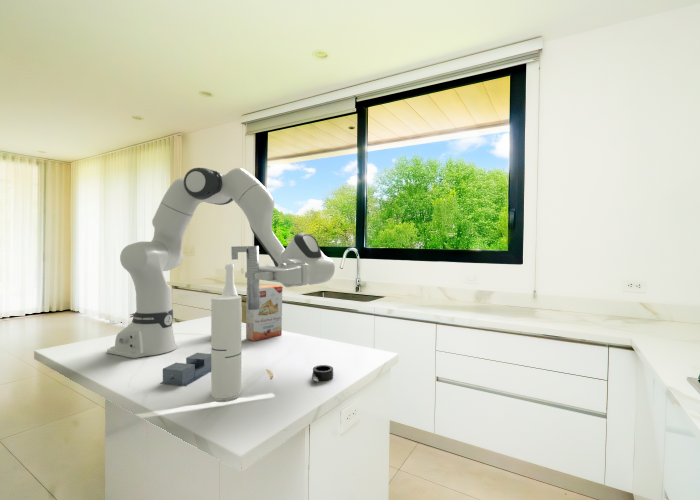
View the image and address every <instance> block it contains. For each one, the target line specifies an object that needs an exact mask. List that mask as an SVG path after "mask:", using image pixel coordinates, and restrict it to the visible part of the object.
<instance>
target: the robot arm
mask: <svg viewBox="0 0 700 500" xmlns="http://www.w3.org/2000/svg"><path fill="white" fill-rule="evenodd" d="M184 175H185V176H184V177H180V178H177V179H175V180H174V181H173V182H172V183H171V184H170V186H169V187H168V189H167V191H166V192H165V193H164V195H163V197H162V199H161V201H160V203H159V204H158V206H157V207H158V208H157V209H156V212H155V214H154V216H153V218H152V221H151V225H152V226H153V228H154V233H153V237H152V240H151V241H137V242H133V243H130V244H127V245H126V246H125V247H124V248H123V249H122V250H121V253H120V258H119V260H120V264H121V266H122V267H123V269H124V270H126V271H127V272H128V273H129V275H130V276H131V279H132V282H133V284H134V288H135V302H136V308H135V309H136V311H135V313H130V314H129V318H132V321H131V323H129V324H128V325H127V326H126V327H124V328H123V329H122V330H120V331H119V332H118V333H117V334H116V336H115V339H114V340H115V343H114V345H113V346H111V347H108V349H107V350H106V353H107V354H112V355H117V356H121V357H125V358H126V357H127V358H132V359H135V358H136V359H137V358H142V357H147V356H149V357H150V356H157V355H162V354H166V353H168V352H172V351H174V350H175V349H177V348H178V347H177V343H176V340H175V336H174V335H175V334H174V327H173V321H174V310H173V307H172V306H173V304H172V303H173V302H172V300H173V299H172V295H173V294H172V293H173V292H172V288H171V287H172V286H170V285H169V284H168V283H167V281H166V277H165V273H164V272H168V271H170V270H173V269H175V268H177V267H178V266H180V265H181V263H182V262H183V260H184V252H183V250H182V247H183V241H184V236H185V234H186V231H187V229H188V226H189V225H190V222H191V221H192V218H193V216H194V214H195V212H196V210H197V208H198V206H199V205H200V204H201V203H208V204H213V205H220V206H221V205H222V206H223V205H228V204H231V203H232V202H233V201H234V203H236V204H237V206H239V208H240V209H241V210H242V211H243V214H244V215H245V217H246V218H247V221H248V223H249V226H250V229H251V232H252V233H253V235H254V236H255V238H256V239H257V241H258V242H259V243H260V245H261V246H262V248H263V249H264V251H265V252H266V253H267V255H268V256H269V257H270V259H271V260H272V263H273V264H274V266H269V265H268V266H267V265H265V266H262V265H261V266H259V273H254V274H253V279H256V280H259V281H260V280H261V281H266V282H267V281H268V282H273V283H280V284H282V286H284V287H285V288H294V287H302V286H308V285H311V286H312V285H318V284H319V285H320V284H324V283H326V282H330V280H331V279H333V276H334V274H335V269H336V268H335V267H336V266H335V263H334V261H333V259H332V258H330V257H328V256H327V255H325V254H324V252H323V251H322V250H321V248H320V245H319V243H318V241H317V239H316V238H315V237H314V236H313V235H310V234H309V233H305V232H299V233H297V234H295V235H294V236H293V238H292V239H291V240H290V241H289V243H288V244H287V246H286V247H284V245H283V244H282V243H281V241H280V240H279V239H278V236H276V234H275V233H274V231H273V215H274V210H275V199H274V198H273V195H272V194H271V193H272V192H270V191H269V189H267V188H266V186H265V185H263V183H262V182H260V180H259V179H257V178H256V176H254V175H253V174H251V173H250V172H249V171H247V170H246V169H244V168H242V167H236V168H233V169H231V170H229V171H228V172H227V173H225V174H221V173H220V172H219V171H217V170H213V169H209V168H206V167H194V168H191V169H190V170H188V171H187V173H185V174H184ZM244 277H245V278H246V279H247V271H246V272H245V273H244Z"/></svg>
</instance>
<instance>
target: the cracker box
mask: <svg viewBox="0 0 700 500" xmlns="http://www.w3.org/2000/svg"><path fill="white" fill-rule="evenodd" d="M259 292H260V309H258V310H248V308H247V302H246V305H245V308H246V312H245V313H246V316H245V317H246V318H245V320H246V322H245V338H246V339H247V340H250V341H252V342H255V341H260V340H263V339H269V338H274V337H279V336H282V329H283V328H282V325H283V323H282V322H283V285H276V284H275V285H264V286H262V285H261V286H259Z"/></svg>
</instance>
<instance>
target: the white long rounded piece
mask: <svg viewBox="0 0 700 500" xmlns="http://www.w3.org/2000/svg"><path fill="white" fill-rule="evenodd" d="M234 264H235V263H225V266H224V267H225V268H224V269H225V282H224V287H223V290H222V293H221V296H222V295H238V296H239V294H238V292H237V288H236V285H235V265H234ZM242 311H243V309H242V305H241V332H242V327H243V326H242V318H243V317H242V315H243V314H242Z"/></svg>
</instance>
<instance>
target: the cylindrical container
mask: <svg viewBox="0 0 700 500" xmlns="http://www.w3.org/2000/svg"><path fill="white" fill-rule="evenodd" d="M210 298H211V301H210V303H211V305H210V307H211V308H210V309H211V311H210V313H211V315H210V318H211V322H210V325H211V328H210V329H211V330H210V331H211V332H210V333H211V335H210V337H211V338H210V339H211V343H210V346H211V349H210V351H211V352H210V354H211V372H210V373H211V375H210V377H211V379H210V380H211V381H210V382H211V384H210V385H211V387H210V388H211V392H210V394H211V396H212V397H213V398H215V399H219V400H215V401H214V402H217V403H228V402H233V401H235V400H237V399H239V397H235V396H238V395H240V393H241V392H242V331H241V306H242V295H239V294H238V295H222V294H221V295H214V296H211V297H210Z"/></svg>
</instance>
